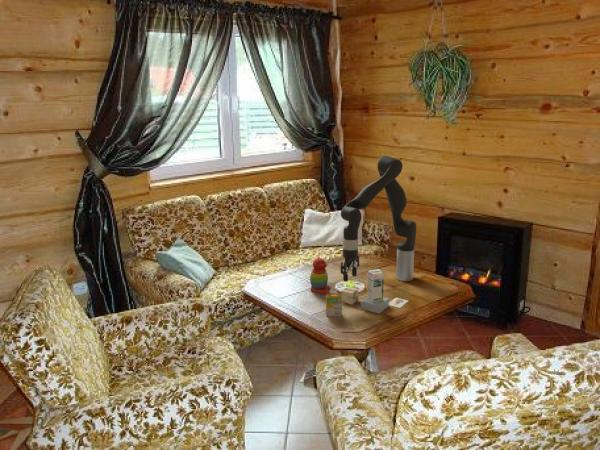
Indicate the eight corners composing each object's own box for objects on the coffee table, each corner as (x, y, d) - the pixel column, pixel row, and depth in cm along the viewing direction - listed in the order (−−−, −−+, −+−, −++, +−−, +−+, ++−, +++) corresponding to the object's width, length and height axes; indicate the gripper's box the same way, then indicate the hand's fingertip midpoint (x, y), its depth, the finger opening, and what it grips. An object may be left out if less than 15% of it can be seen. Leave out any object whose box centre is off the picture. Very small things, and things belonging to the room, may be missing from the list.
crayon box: (341, 313, 239) (341, 290, 236) (342, 316, 236) (342, 293, 233) (326, 313, 238) (325, 291, 235) (326, 316, 236) (326, 293, 232)
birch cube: (347, 297, 256) (347, 286, 255) (357, 300, 253) (358, 289, 251) (341, 301, 252) (341, 290, 250) (352, 304, 248) (352, 293, 247)
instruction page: (395, 297, 255) (395, 297, 255) (408, 300, 251) (408, 300, 251) (386, 304, 247) (386, 304, 247) (400, 308, 243) (400, 307, 243)
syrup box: (372, 302, 240) (373, 274, 236) (367, 297, 246) (367, 269, 242) (383, 300, 242) (384, 272, 238) (378, 296, 247) (378, 268, 243)
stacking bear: (327, 295, 260) (327, 262, 255) (308, 293, 262) (308, 261, 257) (330, 287, 270) (330, 255, 265) (312, 285, 272) (311, 254, 267)
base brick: (370, 301, 251) (370, 294, 250) (388, 306, 245) (388, 298, 244) (360, 308, 243) (360, 301, 242) (379, 313, 238) (379, 305, 236)
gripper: (349, 252, 237) (349, 284, 241) (364, 244, 248) (363, 275, 252) (336, 249, 241) (335, 281, 245) (351, 242, 252) (350, 272, 256)
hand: (350, 278), depth 249 cm, fingers open, 8 cm apart
